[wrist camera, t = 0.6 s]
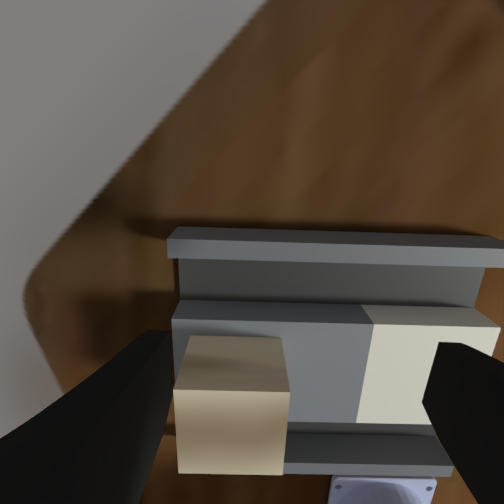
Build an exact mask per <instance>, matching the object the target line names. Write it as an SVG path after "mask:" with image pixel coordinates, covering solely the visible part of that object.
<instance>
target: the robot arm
mask: <svg viewBox="0 0 504 504" xmlns="http://www.w3.org/2000/svg"><path fill="white" fill-rule="evenodd" d="M172 395H173V386H172V363H171V339H170V331H151V330H147V331H146V332H144V333H143V334H142V335H140V336H139V337H138V338H137V339H135V340H134V341H133V342H132V343H131V344H129V345H128V346H127V347H126V348H124V349H123V350H122V351H121V352H120V353H118V354H117V355H116V356H115V357H113V358H112V359H111V360H110V361H108V362H107V363H106V364H104V365H103V366H102V367H101V368H99V369H98V370H97V371H96V372H94V373H93V374H92V375H91V376H89V377H88V378H87V379H85V380H84V381H83V382H81V383H80V384H79V385H77V386H76V387H74V388H73V389H72V390H70V391H69V392H68V393H66V394H65V395H63V396H62V397H61V398H59V399H58V400H57V401H55V402H54V403H52V404H51V405H50V406H48V407H47V408H45V409H44V410H43V411H41V412H40V413H38V414H37V415H35V416H34V417H33V418H31V419H30V420H28V421H27V422H25V423H24V424H22V425H21V426H19V427H18V428H16V429H15V430H13V431H11V432H10V433H9V434H7V435H5V436H4V437H2V438H0V504H139V501H140V498H141V495H142V492H143V490H144V487H145V484H146V481H147V478H148V475H149V473H150V470H151V467H152V464H153V461H154V459H155V456H156V453H157V450H158V447H159V444H160V441H161V438H162V436H163V433H164V429H165V425H166V421H167V416H168V412H169V408H170V403H171V399H172ZM422 404H423V407H424V409H425V411H426V413H427V415H428V418H429V420H430V422H431V424H432V426H433V428H434V430H435V433H436V435H437V437H438V439H439V441H440V442H441V444H442V446H443V448H444V449H445V451H446V453H447V454H448V456H449V457H450V459H451V461H452V462H453V464H454V466H455V467H456V469H457V470H458V472H459V474H460V475H461V477H462V479H463V480H464V482H465V483H466V485H467V487H468V488H469V490H470V491H471V493H472V495H473V496H474V498H475V499H476V501H477V503H478V504H504V363H503V362H501V361H499V360H497V359H495V358H493V357H491V356H489V355H487V354H485V353H483V352H481V351H479V350H477V349H475V348H472V347H470V346H468V345H466V344H463V343H456V342H439V343H438V346H437V350H436V353H435V357H434V360H433V364H432V367H431V371H430V374H429V378H428V381H427V385H426V388H425V392H424V395H423V399H422ZM436 484H437V481H436V480H435V478H434V476H380V475H333V476H332V479H331V485H330V491H329V497H328V503H327V504H430V503H431V500H432V497H433V494H434V491H435V488H436Z"/></svg>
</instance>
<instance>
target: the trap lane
mask: <svg viewBox="0 0 504 504" xmlns="http://www.w3.org/2000/svg"><path fill="white" fill-rule="evenodd" d="M167 253H168V258H178V264H179V286H180V301H179V303H178V306H177V308H176V310H175V312H174V314H173V316H172V319H171V321H172V338H173V355H174V373H175V383H176V380H177V377H178V373H179V370H180V367H181V364H182V361H183V358H184V355H185V351H186V348H187V345H188V342H189V339H190V336H191V335H195V336H235V337H274V338H281V339H282V345H283V351H284V357H285V363H286V369H287V375H288V382H289V388H290V400H289V411H288V422H287V433H286V444H285V455H284V466H283V474H326V475H380V476H435V477H451V474H452V471H453V468H454V465H453V463H452V462H451V460H450V459H449V457H448V456H447V454H446V452H445V451H444V449H443V448H442V446H441V445H440V443H439V441H438V440H437V438H436V437H435V435H436V433H435V430H434V428H433V426H432V424H431V422H430V420H429V418H428V415H427V413H426V411H425V409H424V407H423V404H422V399H423V395H424V392H425V388H426V385H427V381H428V378H429V374H430V371H431V367H432V364H433V360H434V357H435V353H436V350H437V346H438V343H439V342H456V343H463V344H466V345H468V346H470V347H472V348H475V349H477V350H479V351H481V352H483V353H485V354H487V355H489V356H492V353H493V350H494V347H495V344H496V341H497V338H498V335H499V332H500V329H501V327H500V326H498V325H497V324H495V323H494V322H493V321H491V320H490V319H488V318H487V317H486V316H484V315H483V314H482V313H480V312H479V311H477V310H476V309H475V308H474V305H475V301H476V298H477V295H478V291H479V288H480V285H481V281H482V278H483V274H484V271H485V268H486V267H495V268H504V241H503V240H500V239H497V238H495V237H492V236H473V235H441V234H409V233H376V232H344V231H312V230H280V229H247V228H215V227H183V226H178V227H177V228H176V229H175V230H174V231H173V232H172V233H171V235H170V236H169V237H168V238H167Z"/></svg>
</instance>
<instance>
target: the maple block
mask: <svg viewBox="0 0 504 504" xmlns="http://www.w3.org/2000/svg"><path fill="white" fill-rule="evenodd" d="M173 392H174V408H175V424H176V441H177V457H178V473H187V474H242V475H283V466H284V455H285V444H286V433H287V422H288V411H289V400H290V388H289V382H288V375H287V369H286V363H285V357H284V351H283V345H282V339H281V338H274V337H235V336H195V335H191V336H190V339H189V342H188V345H187V348H186V351H185V355H184V358H183V361H182V364H181V367H180V370H179V373H178V377H177V380H176V383H175V386H174V389H173Z"/></svg>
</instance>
